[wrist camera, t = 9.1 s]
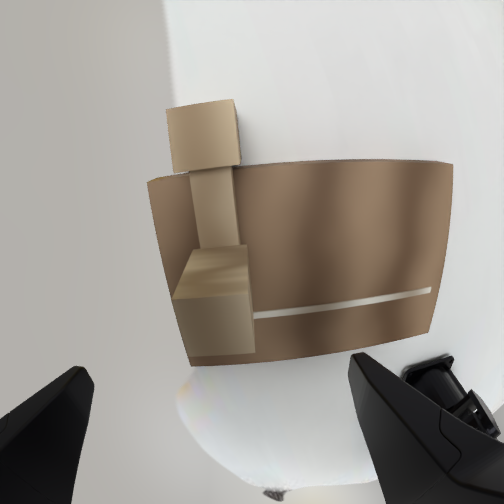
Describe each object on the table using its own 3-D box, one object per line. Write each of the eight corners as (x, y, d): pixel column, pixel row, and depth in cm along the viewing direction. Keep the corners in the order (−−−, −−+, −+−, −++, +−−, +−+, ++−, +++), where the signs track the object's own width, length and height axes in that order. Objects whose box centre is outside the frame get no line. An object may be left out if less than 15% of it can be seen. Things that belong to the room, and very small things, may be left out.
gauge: (236, 111, 16) (227, 79, 7) (256, 305, 21) (263, 403, 12) (187, 117, 16) (133, 97, 7) (215, 309, 21) (202, 406, 12)
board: (437, 161, 17) (454, 164, 15) (418, 320, 22) (428, 333, 20) (156, 177, 17) (146, 182, 15) (194, 350, 23) (190, 367, 21)
